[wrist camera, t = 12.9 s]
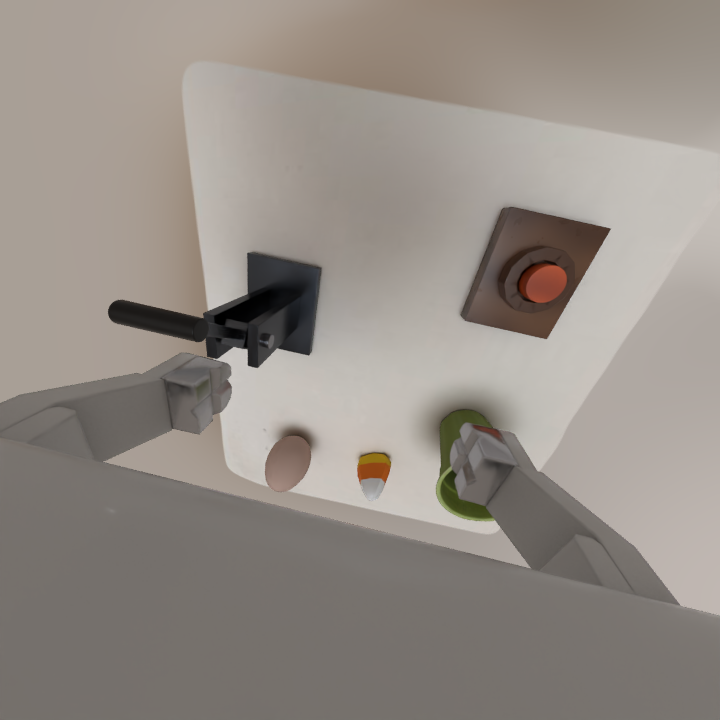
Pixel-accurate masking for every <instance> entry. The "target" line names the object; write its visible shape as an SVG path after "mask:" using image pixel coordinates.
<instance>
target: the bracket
mask: <svg viewBox="0 0 720 720" xmlns="http://www.w3.org/2000/svg"><path fill="white" fill-rule="evenodd" d="M247 259H248V294H247V295H245V296H242V297H240V298H238V299H235V300H233V301H231V302H228V303H226V304H224V305H221V306H219V307H217V308H214V309H212V310H210V311H207V312H205V313H203V315H204V319H205V320H207V322H208V323H213V324H218V325H222V326H225V321H226V319H231V320H235V321H239V322H244V323H248V366H251V367H255V368H258V367H259V366H260V365H261V364H262V363H263V362H264V361H265V360H266V359H267V358H268V357H269V356H270V355H271V354H272V353H273V352H274V351H275V350H276V349H277V348H279V349H283V350H287V351H292V352H296V353H300V354H305V355H310V353H311V351H312V343H313V335H314V326H315V318H316V310H317V301H318V293H319V284H320V276H321V268H320V267H316V266H311V265H307V264H302V263H298V262H294V261H289V260H285V259H280V258H276V257H271V256H267V255H262V254H258V253H253V252H250V253H247ZM221 340H222V338H218V337H210V336H207V337H206V348H207V357H211V358H215V359H218V358H219V357H220V356H222V355H223V354H224V353H226V352H227V351H229V350H230V349H231V348H233V346H228V345H224V344H221Z"/></svg>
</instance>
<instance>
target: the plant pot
mask: <svg viewBox="0 0 720 720" xmlns="http://www.w3.org/2000/svg"><path fill="white" fill-rule="evenodd" d="M465 422H467V423H472V424H476V425H481V426H485V427H489V428H493V427H492V426H491V425H490V423H489V422H488V421H487V420H486V418H485V417H484V416H482V415H481V414H479V413H478V412H476V411H472V410H459V411H456V412H453V413H451V414H450V415H449V416H448V417H447V418H445V419H444V420H443V421H442V423H441V426H440V452H441V468H440V477H439V479H438V482H437V485H436V495H437V498H438V500H439V502H440V504H441V505H442V506H443V507H444V508H445V509H446V510H447V511H449V512H450V513H452V514H454V515H456V516H458V517H460V518H464V519H468V520H474V521H494V520H495V519H494V518H493V517H492V515H491V514H490V513H489V511H488V510H487V509H486V506H483V505H480V504H476V503H473V502H469V501H465V500H462V499H459V496H458V492H457V489H456V485H455V481H454V480H455V478H456V476H457V474H456V473H455V472H454V471H453V470H452V469H451V465H450V451H451V447H452V445H453V443H454V441H455V440H457V439H459V438H460V437H461V434H460V429H461V427H462V425H463V424H464V423H465Z"/></svg>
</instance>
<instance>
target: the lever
mask: <svg viewBox="0 0 720 720" xmlns="http://www.w3.org/2000/svg"><path fill="white" fill-rule="evenodd" d="M108 315H109V318H110V319H111V320H112V321H113V322H115V323H117V324H121V325H126V326H130V327H134V328H138V329H143V330H147V331H151V332H156V333H160V334H165V335H169V336H173V337H178V338H182V339H186V340H191V341H195V342H202V341H203V340H204V339H205V338H206V337H207V336H210V337H218V338H222V340H221V344H224V345H228V346H233V347H237V348H241V349H248V323H244V322H239V321H235V320H231V319H226V321H225V326H222V325H218V324H213V323H208V322H207V320H205V319H204V318H199V317H195V316H191V315H186V314H182V313H178V312H173V311H169V310H165V309H160V308H156V307H151V306H147V305H143V304H138V303H134V302H130V301H125V300H117V301H114V302H113V303H112V304H111V305H110V307H109V309H108Z"/></svg>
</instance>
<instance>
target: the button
mask: <svg viewBox="0 0 720 720" xmlns="http://www.w3.org/2000/svg"><path fill="white" fill-rule="evenodd" d="M566 282H567V276H566V273H565V271H564V270H563V269H562V268H561V267H559V266H555V265H550V264H545V263H541V264H536V265H534V266H532V267H530V268H529V269H527V270H526V271H525V272H524V274H523V275H522V277H521V279H520V281H519V290H520V292H521V294H522V295H523V296H524V297H526V298H528V299H530V300H532V301H534V302H537V303H545V302H548V301H551V300H553V299H555V298H556V297H557V296H559V295H560V294H561V293H562V291H563V290H564V288H565V286H566Z"/></svg>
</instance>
